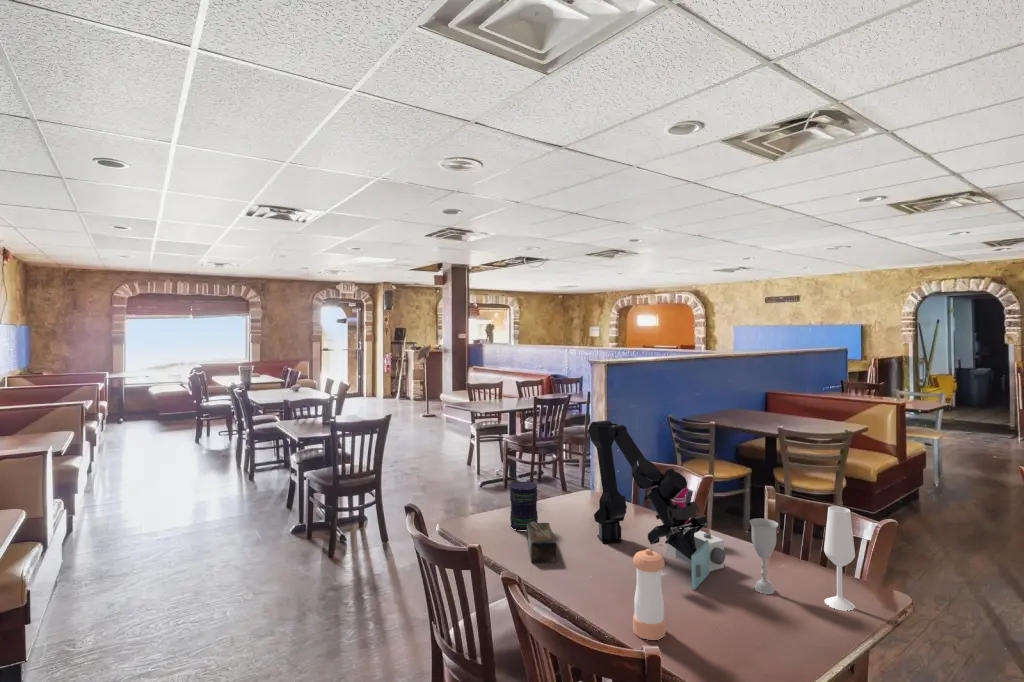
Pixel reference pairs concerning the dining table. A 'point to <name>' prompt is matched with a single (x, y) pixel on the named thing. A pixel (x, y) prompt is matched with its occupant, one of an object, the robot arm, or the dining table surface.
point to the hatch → (700, 565)
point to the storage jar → (523, 504)
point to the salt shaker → (649, 596)
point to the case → (700, 538)
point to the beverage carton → (541, 543)
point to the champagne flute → (839, 550)
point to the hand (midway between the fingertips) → (694, 558)
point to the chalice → (764, 548)
